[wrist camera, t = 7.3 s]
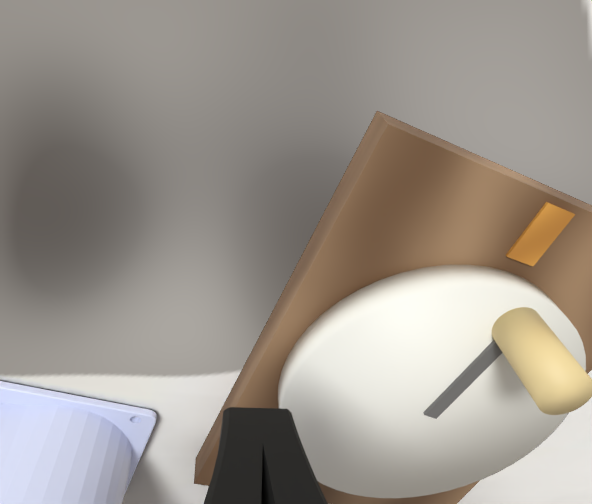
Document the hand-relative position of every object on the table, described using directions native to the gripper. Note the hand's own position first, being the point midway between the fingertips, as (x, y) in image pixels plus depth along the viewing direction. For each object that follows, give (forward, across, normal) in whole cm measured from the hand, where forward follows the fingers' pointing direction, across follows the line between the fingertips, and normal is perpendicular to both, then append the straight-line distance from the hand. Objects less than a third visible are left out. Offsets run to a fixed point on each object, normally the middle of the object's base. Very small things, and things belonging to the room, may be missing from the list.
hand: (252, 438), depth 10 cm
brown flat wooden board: (+10, -9, +8) cm, 16 cm away
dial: (+9, -9, +8) cm, 15 cm away
